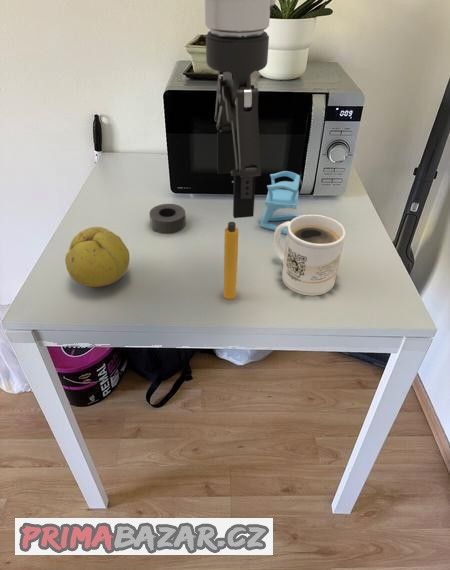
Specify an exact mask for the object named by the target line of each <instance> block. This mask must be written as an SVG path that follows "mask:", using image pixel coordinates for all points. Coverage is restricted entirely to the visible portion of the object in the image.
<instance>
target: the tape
mask: <svg viewBox="0 0 450 570" xmlns="http://www.w3.org/2000/svg"><path fill="white" fill-rule="evenodd" d="M149 222H150V223H149V224H150V228H151V229H152V230H153V231H154V232H155V233H158V234H163V235H171V234H176V233H179V232H181V231H182V230H184V229H185V227H186V225H187V219H186V209H185V208H183V206H181V205H179V204H175V203H162V204H158V205H155V206H153V208H151V209H150V211H149Z"/></svg>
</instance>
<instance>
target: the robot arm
mask: <svg viewBox="0 0 450 570" xmlns="http://www.w3.org/2000/svg"><path fill="white" fill-rule="evenodd" d="M275 4H276V0H204V26H206V28H207V29H209V31H208V32H207V34H206V35H205V60H206V61H205V62H206V66H208V68H210V69H211V70H213V71H216V72H217V84H216V98H215V110H214V117H213V119H214V121H215V123H216V124H215V127H216V130H217V132H216V142H217V143H216V173H217V175H226V174H230V176H231V177H233V197H232V198H233V200H232V202H233V203H232V204H233V205H232V216H233V218H234V219H241V218H251V217H252V218H254V214H255V213H254V212H255V211H254V210H255V194H256V180H257V179H256V177H260V176H262V167H261V162H262V161H261V147H260V146H261V145H260V143H261V142H260V126H259V125H260V124H259V123H260V122H259V96H260V92H259V89H258V88H257V87H255V85H254V84H252V79H251V75H252V74H253V73H254V72H259V71H261V70H264V69H265V68H266V67H267V65H268V60H269V59H268V58H269V43H270V42H269V41H270V36H269V34H268V32H266V31H265V30H267V29H268V28H269V27H270V19H271V7H274V6H275Z"/></svg>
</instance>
